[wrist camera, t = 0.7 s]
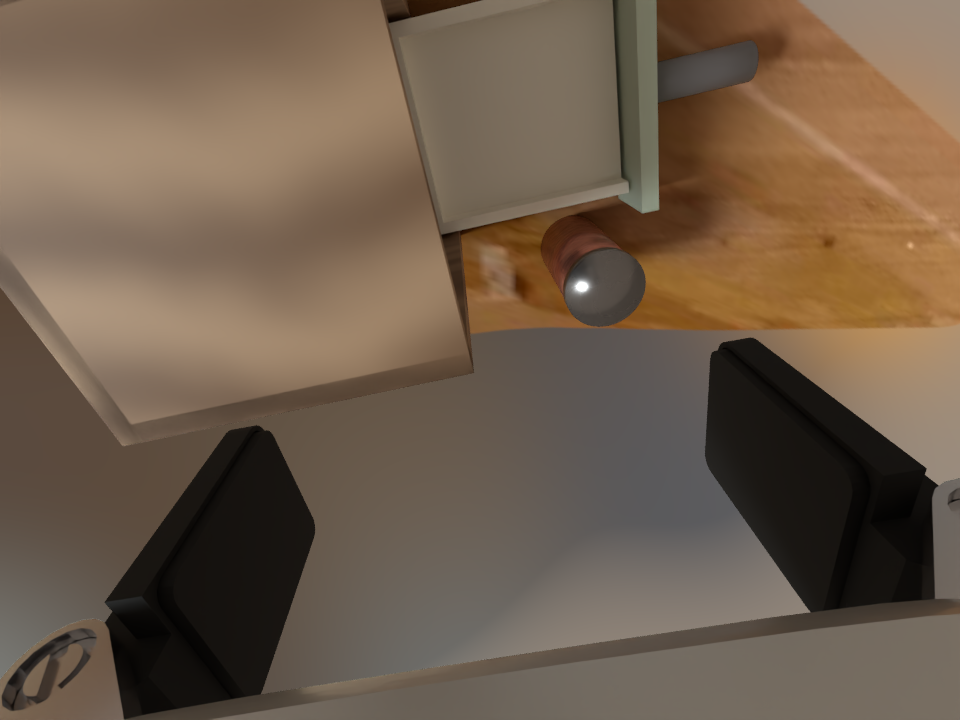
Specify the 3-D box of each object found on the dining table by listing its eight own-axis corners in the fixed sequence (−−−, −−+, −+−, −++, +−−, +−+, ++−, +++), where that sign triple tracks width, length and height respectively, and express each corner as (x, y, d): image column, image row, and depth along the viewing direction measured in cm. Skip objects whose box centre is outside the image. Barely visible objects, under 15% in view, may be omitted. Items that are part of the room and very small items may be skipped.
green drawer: (382, 10, 31) (371, -4, 27) (732, -78, 30) (784, -108, 26) (440, 238, 39) (439, 258, 34) (719, 175, 38) (757, 187, 33)
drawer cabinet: (178, 57, 32) (-213, 10, 13) (407, 0, 31) (345, -138, 12) (276, 276, 40) (122, 446, 21) (460, 235, 39) (473, 373, 20)
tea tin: (535, 222, 39) (561, 260, 30) (599, 207, 39) (644, 242, 30) (544, 282, 42) (570, 333, 33) (604, 269, 42) (646, 317, 33)
